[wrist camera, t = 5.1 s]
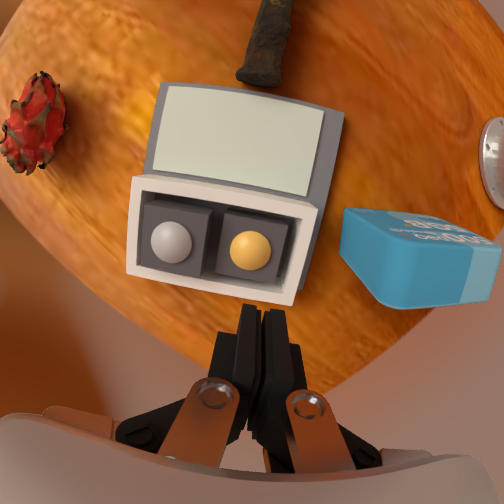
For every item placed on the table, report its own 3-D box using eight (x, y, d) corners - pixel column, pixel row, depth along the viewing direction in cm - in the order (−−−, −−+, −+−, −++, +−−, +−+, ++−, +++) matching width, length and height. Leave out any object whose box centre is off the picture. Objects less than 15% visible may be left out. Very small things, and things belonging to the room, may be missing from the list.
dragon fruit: (53, 178, 25) (70, 88, 23) (70, 174, 21) (93, 63, 18) (-6, 179, 18) (14, 82, 16) (-8, 174, 14) (23, 52, 12)
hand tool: (278, 94, 22) (283, 80, 17) (236, 85, 21) (232, 69, 17) (315, -31, 16) (322, -53, 11) (280, -39, 16) (283, -62, 11)
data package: (434, 215, 25) (509, 249, 13) (427, 254, 26) (494, 301, 15) (339, 206, 25) (399, 242, 14) (334, 250, 26) (384, 312, 15)
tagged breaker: (284, 218, 24) (288, 227, 21) (272, 270, 25) (274, 285, 22) (228, 207, 24) (224, 214, 20) (219, 260, 25) (214, 274, 22)
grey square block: (214, 208, 22) (207, 216, 19) (205, 264, 24) (198, 279, 20) (157, 198, 22) (143, 205, 19) (152, 253, 23) (138, 267, 20)
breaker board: (341, 114, 22) (358, 106, 18) (300, 286, 28) (308, 308, 23) (164, 84, 21) (147, 71, 17) (139, 255, 27) (121, 272, 22)
